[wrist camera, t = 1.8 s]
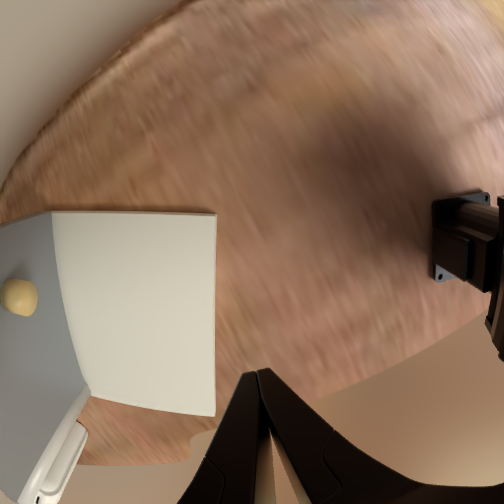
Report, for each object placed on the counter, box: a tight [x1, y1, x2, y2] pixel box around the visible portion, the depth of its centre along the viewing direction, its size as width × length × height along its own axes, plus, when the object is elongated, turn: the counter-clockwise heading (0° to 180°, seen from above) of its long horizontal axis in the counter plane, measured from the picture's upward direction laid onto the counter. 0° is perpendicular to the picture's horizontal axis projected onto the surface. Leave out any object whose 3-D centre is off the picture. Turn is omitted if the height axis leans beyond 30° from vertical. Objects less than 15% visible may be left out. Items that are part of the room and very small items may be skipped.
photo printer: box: [33, 421, 88, 504], centre depth 20 cm, size 10×4×12 cm, turn 144°
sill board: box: [51, 211, 217, 417], centre depth 20 cm, size 14×17×1 cm
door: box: [0, 211, 91, 504], centre depth 12 cm, size 3×17×14 cm, turn 177°
